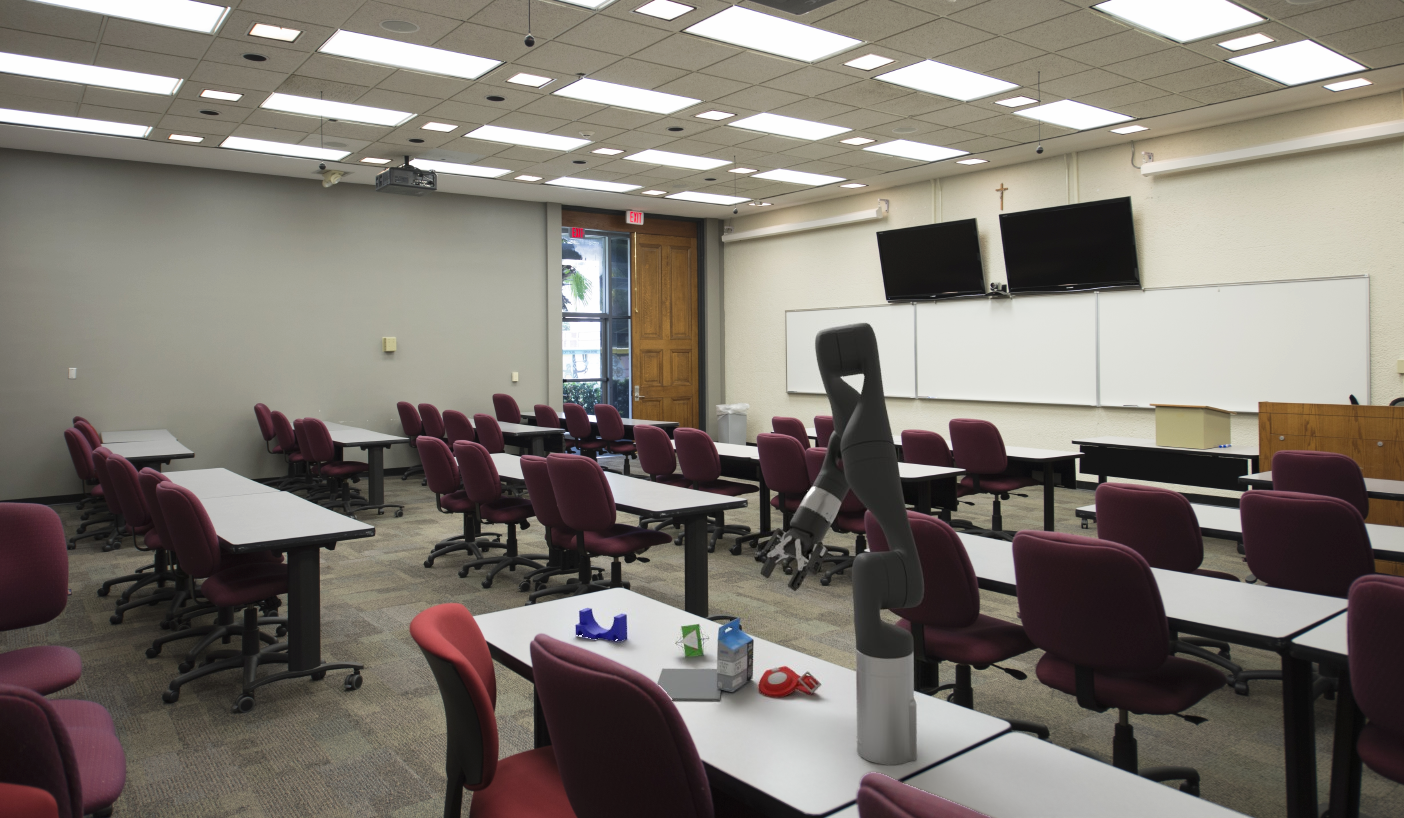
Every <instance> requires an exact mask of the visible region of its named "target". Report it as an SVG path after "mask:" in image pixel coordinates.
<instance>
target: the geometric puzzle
mask: <svg viewBox="0 0 1404 818" xmlns="http://www.w3.org/2000/svg"><path fill="white" fill-rule="evenodd" d="M680 628H681V636H680V638H679V639H678V637H677V636H679V635H680V633H679V634H678V635H677V636H676V638H677V639H678V640H676V641H675V643H674V644H675V645H676V646H677V647H678V646H679V647H678V648H679V649H680V647H681V648H682V651H683V653H682V654H683V655H684V657H685V658H689V657H697V656H704V650H706V648H707V647H705V648H704V646H705V645H704V644H705V642H704V641H705V640H709V635H708V634H707V636H706V634H703V633H702V629H703V628H702V627H701V625H700V623H698V624H688V625H681V626H680ZM701 628H702V629H701ZM704 633H706V632H705V631H704ZM703 635H704V636H705V638H704V636H703ZM702 642H703V643H702ZM679 643H680V644H681V645H680V644H679ZM682 644H683V645H682Z"/></svg>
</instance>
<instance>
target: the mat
mask: <svg viewBox="0 0 1404 818" xmlns="http://www.w3.org/2000/svg"><path fill="white" fill-rule="evenodd" d="M656 683H657V684H658V685H660V686H661V687H662V688H663V689H664V690H665V691H666V692H667V694H668V695H669V696H670V697H671V698H672V699H673V700H672V701H699V702H700V701H701V702H703V701H709V702H710V701H712V702H713V701H714V702H720V699H721V694H722V690H721V689H718V688H717V668H662V669H661V672H660V675H659V678H658V681H657V682H656ZM657 684H656V685H657Z"/></svg>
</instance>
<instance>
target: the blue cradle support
mask: <svg viewBox="0 0 1404 818" xmlns="http://www.w3.org/2000/svg"><path fill="white" fill-rule="evenodd" d="M578 614H579V615H578V617H579V618H578V619H579V623H577V624H575V636H576V635H578V636H579V635H582V634H583V635H582V637H588V638H591V639H597V640H599V639H598V638H603V639H602V640H605V639H608V640H607V641H610V640H613V641H612V642H615V640H616V639H618V640H617V641H622V640H624V639H626V640H628V617H627V616H628V615H627V614H625V613H619V614H617V615H615V616H613V623H612V626H611V627H610V628H609V629H606V628H604V627H602V626H601V625H600V624H599V623H598V622H597V620H596V619H595V617H594V615H593V608H591V607H586V608H583V609H581V610H579V611H578ZM591 639H590V640H591ZM624 641H625V640H624ZM622 642H623V641H622Z"/></svg>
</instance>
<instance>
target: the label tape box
mask: <svg viewBox="0 0 1404 818" xmlns="http://www.w3.org/2000/svg"><path fill="white" fill-rule="evenodd" d="M740 623H741V617H738V618H735V619H733V620H731V621H730V622H728V623H725V624H723V625H721V626H720V627H718V632H717V647H716V649H717V651H716V652H717V654H716V655H717V657H716V658H717V660H716V669H717V688H718V689H721V691H726V692H731V693H733V692H735V691H736V690H739V688H741V687H743V686H744V685H745V684H747V683H749V682H750V681H751V680H753V679H754V678H753V677H754V648H755V647H754V642H755V641H754V638H752V637H751V636H749V635H748V634H747V633H746V632H744V631H742V630H741V629H740ZM729 628H731V629H729ZM728 629H729V630H728Z"/></svg>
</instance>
